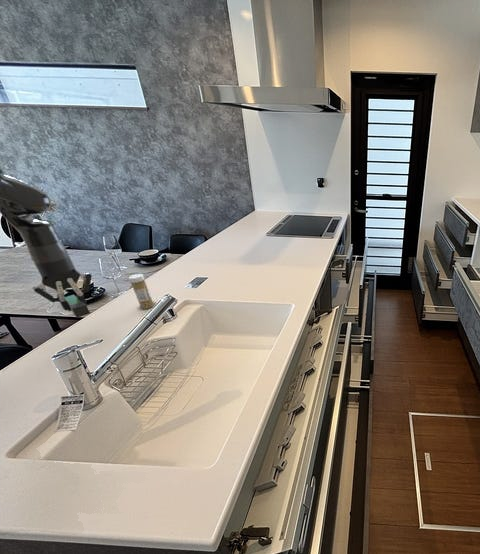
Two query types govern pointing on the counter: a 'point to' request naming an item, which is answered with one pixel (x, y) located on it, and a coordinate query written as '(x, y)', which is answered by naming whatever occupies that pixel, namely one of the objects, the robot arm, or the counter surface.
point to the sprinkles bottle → (141, 291)
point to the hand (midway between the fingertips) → (76, 307)
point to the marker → (77, 306)
